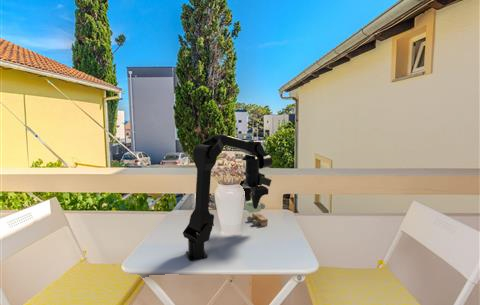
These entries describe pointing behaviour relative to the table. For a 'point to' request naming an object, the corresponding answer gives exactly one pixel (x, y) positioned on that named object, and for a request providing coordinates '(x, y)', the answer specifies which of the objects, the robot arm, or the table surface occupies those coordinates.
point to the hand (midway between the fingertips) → (251, 206)
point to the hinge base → (257, 219)
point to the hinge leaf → (250, 208)
